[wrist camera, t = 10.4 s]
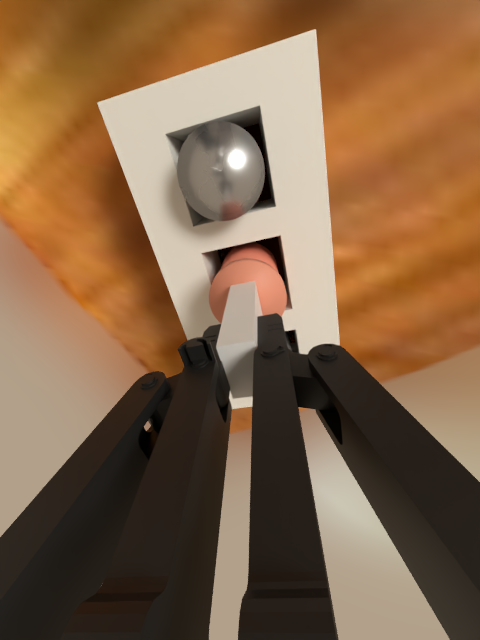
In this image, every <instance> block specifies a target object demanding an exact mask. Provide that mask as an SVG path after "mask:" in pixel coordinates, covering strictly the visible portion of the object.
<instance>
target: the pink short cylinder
mask: <svg viewBox="0 0 480 640" xmlns="http://www.w3.org/2000/svg"><path fill="white" fill-rule="evenodd" d="M251 281H255V282H256V287H257V292H258V296H259V301H260V305H261V310H262V315H263V316H264V315H269V314H275V313H277V314H279V315H280V316H282V315H283V313H284V310H285V307H286V303H287V294H286V289H285V285H284V282H283V280H282V278H281V276H280V274H279V273H278V268H277V264H276V260H275V258H274V256H273V254H272V253H271V252H270V251H269V250H268V249H267V248H266V247H264V246H263V245H260V244H258V243H252V242H249V243H245V244H240V245H237V246H235V247H234V248H232V249H231V250H230V251H229V252H228V254H227V255H226V257H225V259H224V262H223V265H222V267H221V270H220V271H219V272H218V273H217V274H216V276H215V278H214V280H213V282H212V285H211V287H210V291H209V304H210V308H211V311H212V313H213V315H214V316H215V318H216V319H217V320H218V321H219V322H220V323H221V324H222V319H223V315H224V311H225V307H226V303H227V298H228V294H229V290H230V286H231V285H236V284H241V283H246V282H251Z"/></svg>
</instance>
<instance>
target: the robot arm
mask: <svg viewBox="0 0 480 640" xmlns="http://www.w3.org/2000/svg"><path fill="white" fill-rule="evenodd" d="M178 351H179V353H180V356H181V358H182V361H183V363H184V369H183V371H182V373H180V374H178V375H175V376H172V377H169V378H166V376H165V374H164V373H163V372H159V371H157V372H151V373H148V374H145V375H144V376H142V377H141V378H139V379H138V380H137V381H136V382H135V383H134V384H133V385H132V387H131V388H130V389H129V390H128V391H127V392H126V393H125V395H124V396H123V397H122V398H121V399H120V400H119V401H118V403H117V404H116V405H115V406H114V407H113V408H112V410H111V411H110V412H109V413H108V414H107V415H106V417H105V418H104V419H103V420H102V421H101V422H100V423H99V425H98V426H97V427H96V428H95V429H94V430H93V431H92V433H91V434H90V435H89V436H88V437H87V438H86V440H85V441H84V442H83V443H82V444H81V445H80V446H79V448H78V449H77V450H76V451H75V452H74V453H73V454H72V456H71V457H70V458H69V459H68V460H67V461H66V463H65V464H64V465H63V466H62V467H61V468H60V469H59V471H58V472H57V473H56V474H55V475H54V476H53V478H52V479H51V480H50V481H49V482H48V483H47V484H46V486H45V487H44V488H43V489H42V490H41V491H40V492H39V494H38V495H37V496H36V497H35V498H34V499H33V501H32V502H31V503H30V504H29V505H28V506H27V507H26V508H25V510H24V511H23V512H22V513H21V514H20V515H19V517H18V518H17V519H16V520H15V521H14V522H13V524H12V525H11V526H10V527H9V528H8V529H7V530H6V531H5V533H4V534H3V535H2V536H1V537H0V640H209V624H210V614H211V605H212V594H213V585H214V576H215V566H216V556H217V546H218V537H219V527H220V518H221V508H222V498H223V489H224V478H225V469H226V460H227V450H228V440H229V431H230V421H231V411H232V406H231V402H230V399H229V394H230V391H231V394H232V398H233V399H236V398H243V397H251V396H253V402H252V445H251V490H250V532H249V534H250V535H249V574H248V575H249V576H248V585H247V591H246V592H245V594H244V596H243V599H242V603H241V609H240V618H239V631H238V640H338V634H337V629H336V623H335V617H334V611H333V606H332V600H331V594H330V588H329V583H328V577H327V571H326V565H325V560H324V554H323V548H322V542H321V537H320V531H319V525H318V519H317V513H316V508H315V502H314V496H313V490H312V485H311V479H310V473H309V467H308V462H307V456H306V450H305V445H304V439H303V433H302V427H301V421H300V416H299V409H298V407H303V408H310V409H316V413H317V415H318V416H319V418H320V420H321V422H322V423H323V425H324V427H325V428H326V430H327V432H328V433H329V435H330V437H331V439H332V440H333V442H334V444H335V445H336V447H337V449H338V450H339V452H340V453H341V455H342V457H343V459H344V460H345V462H346V464H347V466H348V467H349V469H350V471H351V472H352V474H353V476H354V477H355V479H356V480H357V482H358V484H359V486H360V488H361V489H362V491H363V493H364V494H365V496H366V498H367V499H368V501H369V503H370V505H371V506H372V508H373V509H374V511H375V513H376V515H377V516H378V518H379V519H380V521H381V523H382V525H383V526H384V528H385V530H386V531H387V533H388V535H389V537H390V538H391V540H392V542H393V544H394V545H395V547H396V549H397V550H398V552H399V554H400V555H401V557H402V559H403V561H404V562H405V564H406V566H407V567H408V569H409V571H410V572H411V574H412V576H413V577H414V579H415V581H416V583H417V584H418V586H419V588H420V589H421V591H422V593H423V594H424V596H425V598H426V599H427V601H428V603H429V605H430V606H431V608H432V610H433V611H434V613H435V615H436V616H437V618H438V620H439V622H440V623H441V625H442V627H443V628H444V630H445V632H446V633H447V635H448V636H449V638H450V640H480V482H479V481H478V480H477V479H476V478H475V477H474V476H473V475H472V474H471V473H470V472H469V471H468V470H467V469H466V468H465V467H464V466H463V465H462V464H461V463H459V461H457V459H456V458H454V456H453V455H451V453H449V452H448V451H447V450H446V449H445V448H444V447H443V446H442V445H441V444H440V443H439V442H438V441H437V440H436V439H435V438H434V437H433V436H432V435H431V434H430V433H429V432H428V431H427V430H426V429H425V428H424V427H423V426H422V425H421V424H420V423H419V422H418V421H417V420H416V419H415V418H414V417H413V416H412V415H411V414H410V413H409V412H408V411H407V410H406V409H405V408H404V407H403V406H402V405H401V404H400V403H399V402H398V401H397V400H396V399H395V398H394V397H393V396H392V395H391V394H390V393H389V392H388V391H386V389H385V388H384V387H382V385H381V384H380V383H379V382H378V381H377V380H376V379H375V378H373V377H372V376H371V375H370V374H369V373H368V372H367V371H366V370H365V369H364V368H363V367H362V366H361V365H360V364H359V363H358V362H357V361H356V360H355V359H354V358H353V357H352V356H351V355H350V354H349V353H348V352H347V351H346V350H345V349H344V348H342V347H341V346H339V345H335V344H321V345H317V346H315V347H313V348H312V349H311V350H310V351H309V352H308V354H299V353H295V352H293V351H291V350H290V349H289V348H288V346H287V342H286V337H285V331H284V326H283V320H282V317H281V316H280V315H279V314H277V313H275V314H269V315H264V316H263V315H262V310H261V305H260V301H259V296H258V292H257V287H256V282H255V281H251V282H246V283H241V284H236V285H231V286H230V290H229V294H228V298H227V303H226V307H225V311H224V315H223V319H222V324H218V325H212V326H209V327H208V328H207V329H206V330H205V331H204V333H203V336H202V337H197V338H193V339H190V340H188V341H186V342H184V343H183V344H182V345H180V347H179V348H178ZM147 421H149V423H150V424H151V427H150V428H149V429H148V430H147V431H145V429H144V425H145V424H146V422H147ZM102 583H103V584H102ZM101 585H102V586H101Z"/></svg>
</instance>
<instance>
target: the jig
mask: <svg viewBox="0 0 480 640" xmlns="http://www.w3.org/2000/svg"><path fill="white" fill-rule="evenodd" d="M97 104H98V106H99V109H100V112H101V114H102V117H103V119H104V122H105V125H106V127H107V130H108V133H109V135H110V138H111V140H112V143H113V146H114V148H115V151H116V154H117V156H118V159H119V161H120V164H121V167H122V169H123V172H124V175H125V177H126V180H127V182H128V185H129V188H130V190H131V193H132V196H133V198H134V201H135V203H136V206H137V209H138V211H139V214H140V217H141V219H142V222H143V224H144V227H145V230H146V232H147V235H148V238H149V240H150V243H151V245H152V248H153V251H154V253H155V256H156V259H157V261H158V264H159V266H160V269H161V272H162V274H163V277H164V280H165V282H166V285H167V287H168V290H169V293H170V295H171V298H172V301H173V303H174V306H175V308H176V311H177V314H178V316H179V319H180V322H181V324H182V327H183V329H184V332H185V335H186V337H187V340H190V339H193V338H197V337H202V336H203V333H204V331H205V330H206V329H207V328H208V327H209V326H212V325H218V324H221V323H220V322H219V321H218V320H217V319H216V318H215V316H214V315H213V313H212V311H211V308H210V304H209V291H210V287H211V285H212V282H213V280H214V278H215V276H216V274H217V273H218V272H219V271H220V270H221V267H222V265H221V262H220V258H219V254H218V251H217V250H218V249H222V248H227V247H231V246H236V245H240V244H245V243H249V242H253V241H258V240H262V239H267V238H271V237H276V236H278V241H279V247H280V253H281V259H282V265H283V271H284V277H285V281H283V282H284V285H285V289H286V294H287V303H286V307H285V310H284V313H283V315H282V316H281V317H282V320H283V326H284V331H290V330H293V332H294V338H295V342H294V343H291V348H292V351H293V352H295V353H299V354H308V352H309V351H310V350H311V349H312V348H313V347H315V346H317V345H321V344H335V345H339V346H340V341H339V328H338V315H337V301H336V288H335V275H334V262H333V248H332V235H331V222H330V208H329V195H328V182H327V169H326V155H325V142H324V129H323V115H322V102H321V89H320V75H319V62H318V49H317V36H316V29H314V30H311V31H308V32H305V33H302V34H299V35H296V36H293V37H290V38H287V39H284V40H281V41H278V42H275V43H272V44H269V45H266V46H263V47H260V48H257V49H255V50H252V51H249V52H246V53H243V54H240V55H237V56H234V57H231V58H228V59H225V60H222V61H219V62H216V63H213V64H210V65H207V66H204V67H201V68H198V69H195V70H192V71H189V72H186V73H183V74H180V75H177V76H174V77H171V78H168V79H166V80H163V81H160V82H157V83H154V84H151V85H148V86H145V87H142V88H139V89H136V90H133V91H130V92H127V93H124V94H121V95H118V96H115V97H112V98H109V99H106V100H103V101H100V102H97ZM212 121H226V122H231V123H234V124H236V125H238V126H240V127H242V128H245V127H248V126H251V125H255V124H258V123H259V125H260V132H261V138H262V144H263V150H264V156H265V162H266V168H267V174H268V180H269V186H270V192H271V198H272V199H268V200H264V201H260V202H256V203H255V205H254V206H253V207H252V208H251V209H250V210H249V211H248V212H247V213H245V214H244V215H242V216H241V217H239V218H236V219H233V220H230V221H216V220H211V219H208V218H206V217H204V216H202V215H200V214H199V213H198V212H196V211H195V210H194V209H193V208H192V207H191V206H190V205H189V203H188V202H187V201H186V199H185V198H184V196H183V194H182V191H181V189H180V186H179V182H178V177H177V162H178V156H179V153H180V150H181V147H182V145H183V143H184V142H185V140H186V139H187V137H188V136H189V135H190V134H191V133H192V132H193V131H194V130H195V129H196V128H198V127H199V126H201V125H203V124H205V123H208V122H212ZM229 399H230V402H231V406H232V409H236V408H243V407H251V406H252V402H253V396H251V397H243V398H236V399H233V398H232V394H231V391H230V394H229Z"/></svg>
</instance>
